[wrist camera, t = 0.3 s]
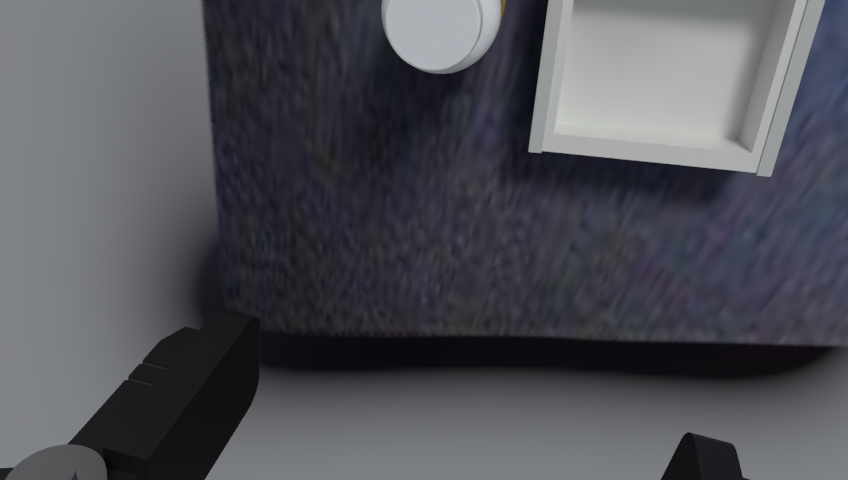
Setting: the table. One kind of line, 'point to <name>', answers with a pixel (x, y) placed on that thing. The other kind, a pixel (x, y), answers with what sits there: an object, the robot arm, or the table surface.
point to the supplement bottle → (441, 31)
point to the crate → (672, 79)
